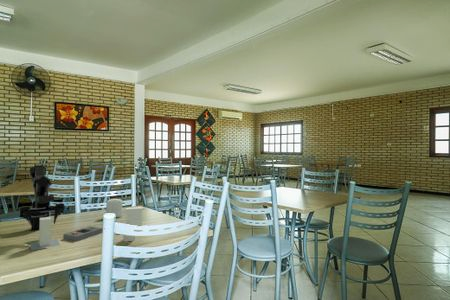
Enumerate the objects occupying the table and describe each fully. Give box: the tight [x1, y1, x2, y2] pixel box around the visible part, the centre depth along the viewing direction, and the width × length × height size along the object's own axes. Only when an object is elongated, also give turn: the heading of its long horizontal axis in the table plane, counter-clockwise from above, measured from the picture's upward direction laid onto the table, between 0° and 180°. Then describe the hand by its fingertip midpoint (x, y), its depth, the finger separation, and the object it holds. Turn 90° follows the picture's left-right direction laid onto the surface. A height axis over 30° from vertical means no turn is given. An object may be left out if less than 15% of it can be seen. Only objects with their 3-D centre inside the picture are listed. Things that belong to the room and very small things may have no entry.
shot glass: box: [122, 234, 136, 242], centre depth 138 cm, size 7×7×7 cm
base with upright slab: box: [125, 206, 144, 227], centre depth 158 cm, size 9×9×12 cm
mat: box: [29, 238, 61, 252], centre depth 128 cm, size 11×11×1 cm
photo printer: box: [105, 198, 123, 218], centre depth 184 cm, size 10×4×12 cm, turn 123°
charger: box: [38, 216, 52, 246], centre depth 128 cm, size 4×5×12 cm
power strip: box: [62, 225, 104, 242], centre depth 141 cm, size 16×9×4 cm, turn 158°
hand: (43, 224), depth 133 cm, fingers open, 9 cm apart
